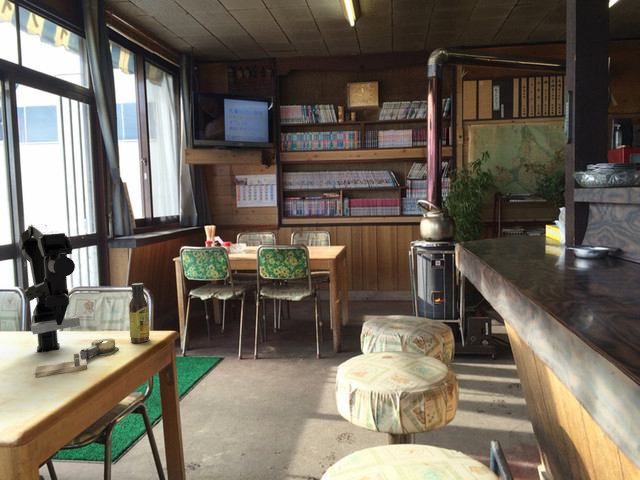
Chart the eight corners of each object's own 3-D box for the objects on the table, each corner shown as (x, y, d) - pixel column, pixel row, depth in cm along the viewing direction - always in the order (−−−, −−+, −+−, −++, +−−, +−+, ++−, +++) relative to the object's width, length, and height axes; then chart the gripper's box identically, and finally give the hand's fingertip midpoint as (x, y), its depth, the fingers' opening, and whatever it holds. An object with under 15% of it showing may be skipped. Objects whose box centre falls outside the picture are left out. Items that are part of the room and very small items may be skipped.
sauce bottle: (143, 344, 167) (140, 285, 165) (126, 343, 168) (123, 285, 167) (153, 338, 173) (150, 282, 172) (137, 338, 175) (134, 282, 173)
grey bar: (32, 334, 148) (31, 326, 147) (33, 332, 151) (32, 323, 150) (80, 325, 153) (79, 317, 153) (79, 323, 156) (78, 315, 156)
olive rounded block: (100, 346, 164) (100, 337, 164) (119, 346, 163) (119, 337, 162) (73, 359, 151) (72, 349, 151) (93, 360, 149) (92, 350, 149)
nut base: (87, 350, 162) (87, 349, 162) (117, 345, 166) (117, 345, 166) (89, 357, 154) (89, 356, 154) (120, 352, 158) (120, 351, 158)
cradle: (35, 377, 137) (34, 366, 137) (36, 370, 143) (35, 359, 143) (87, 368, 143) (86, 358, 143) (86, 362, 149) (85, 352, 149)
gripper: (26, 272, 156) (30, 321, 157) (22, 280, 139) (27, 334, 140) (66, 269, 161) (70, 316, 162) (67, 276, 144) (71, 329, 145)
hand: (59, 323), depth 152 cm, fingers closed on grey bar, 3 cm apart
